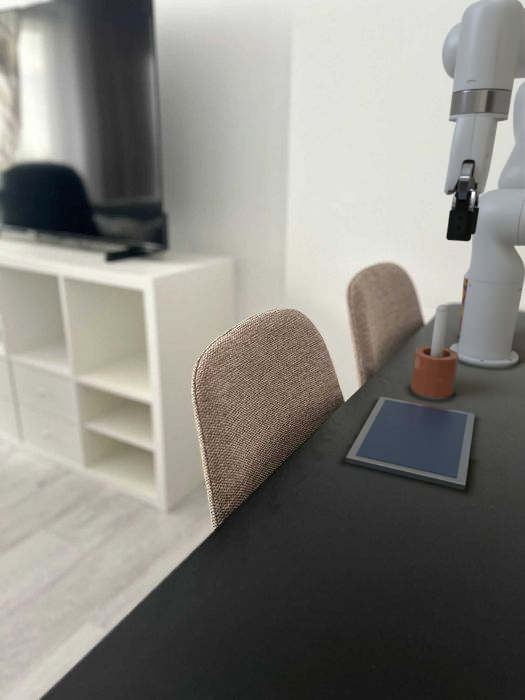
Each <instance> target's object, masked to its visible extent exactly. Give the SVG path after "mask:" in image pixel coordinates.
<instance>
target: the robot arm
mask: <svg viewBox="0 0 525 700" xmlns="http://www.w3.org/2000/svg"><path fill="white" fill-rule="evenodd" d="M460 20H461V21H460V22H458V23H456V24H455V25H454V26H453V27H452V28H451V29H449V31H448V33H447V34H446V36H445V38H444V41H443V46H442V49H441V50H442V51H441V60H442V65H443V66H442V67H443V69H444V71H445V73H446V75H447V76H448V77H449V78H451V80H453V82H452V83H453V84H452V91H451V99H450V107H449V114H448V115H449V117H448V122H453V123H455V124H454V129H453V133H452V140H451V144H450V151H449V157H448V158H449V159H448V164H447V172H446V178H445V183H444V191H443V192H444V194H445V195H446V196H451V195H453V196H452V200H451V201H452V202H451V208H450V209H449V211H448V212H449V213H448V219H447V228H446V236H445V237H446V239H445V240H447V241H453V242H454V241H455V242H470V241H471V240H472V241H471V254H470V261H469V263H470V264H469V268H470V270H469V277H468V283H467V290H466V297H465V304H464V311H463V318H462V324H461V331H460V330H459V339H458V342H455V343H453V344H451V345H450V347H449V349H451V350H453V351H455V352H457V353H458V355H459V358H458V360H461V361H464V362H467V363H471V364H475V365H481V366H491V367H505V366H511V365H515V364H517V363H519V360H520V359H519V358H520V356H519V354H518V353H517V352H516V351H514V350H513V349H512V347H513V342H514V337H515V331H516V327H517V320H518V316H519V310H520V303H521V299H522V294H523V289H524V288H523V287H524V283H525V263H524V261H523V259H522V257H521V256H520V254H519V252H518V251H517V249H516V246H517V247H521V246H523V247H525V80H524V81H522V82H521V84H520V85H519V87H518V88H517V90H516V93H515V94H514V100H513V108H512V130H513V131H512V132H513V138H514V145H513V148H512V150H511V152H510V154H509V156H508V158H507V160H506V162H505V163H504V165H503V168H502V170H501V172H500V174H499V176H498V181H497V189H491V190H488V191H486V192H485V190H486V186H487V182H488V178H489V173H490V169H491V164H492V159H493V154H494V147H495V141H496V136H497V129H498V122H505V121H508V120H509V114H510V108H511V102H512V96H513V89H514V83H515V80H516V79H525V7H524V5H523V4H522V2H521V1H520V0H478V1H475V2H473V3H470V4H469V5H468V6H467V7H466V8H465V10H464V12H463V13H462V16H461V19H460Z"/></svg>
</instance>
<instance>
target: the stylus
mask: <svg viewBox="0 0 525 700" xmlns="http://www.w3.org/2000/svg"><path fill="white" fill-rule="evenodd" d="M448 317H449V307H448V306H447V305H446V304H440V305H439V304H438V306H437V307H436V310H435V316H434V324H433V332H432V340H431V346H432V347H431V355H430V356H432V357H442V354H443V348H444V346H445V338H446V332H447V331H446V330H447V325H448Z"/></svg>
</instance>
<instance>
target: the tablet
mask: <svg viewBox="0 0 525 700" xmlns="http://www.w3.org/2000/svg"><path fill="white" fill-rule="evenodd" d="M475 417H476V413H473V412H468V411H463V410H457V409H451V408H445V407H439V406H436V405H435V406H434V405H429V404H424V403H418V402H412V401H406V400H401V399H396V398H390V397H385V396H380V397H379V398H378V400H377V402H376V404H375V405H374V407H373V409H372V411H371V412H370V414H369V416H368V418H367V419H366V421H365V423H364V424H363V427H362V428H361V429H360V432H359V434H358V435H357V437H356V439H355V440H354V442H353V444H352V446H351V448H350V449H349V451H348V453H347V455H346V456H345V463H347V464H352V465H354V466H355V465H356V466H359V467H364V468H368V469H372V470H376V471H380V472H384V473H388V474H393V475H397V476H402V477H406V478H410V479H414V480H419V481H423V482H427V483H430V484H435V485H439V486H443V487H448V488H451V489H452V488H453V489H457V490H460V491H465V490H466V484H467V477H468V469H469V463H470V462H469V461H470V454H471V448H472V447H471V446H472V441H473V440H472V439H473V433H474V426H475Z"/></svg>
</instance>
